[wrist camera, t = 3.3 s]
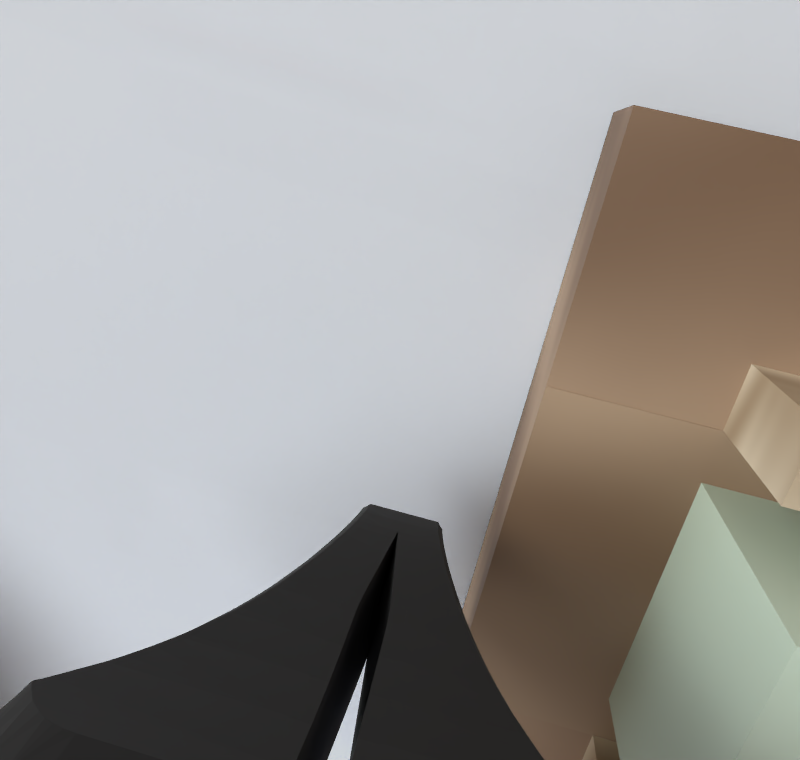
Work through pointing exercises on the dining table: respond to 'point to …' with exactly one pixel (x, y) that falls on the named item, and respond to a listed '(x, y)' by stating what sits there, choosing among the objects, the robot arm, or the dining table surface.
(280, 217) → the dining table surface
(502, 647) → the deck
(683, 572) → the block
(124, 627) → the dining table surface
